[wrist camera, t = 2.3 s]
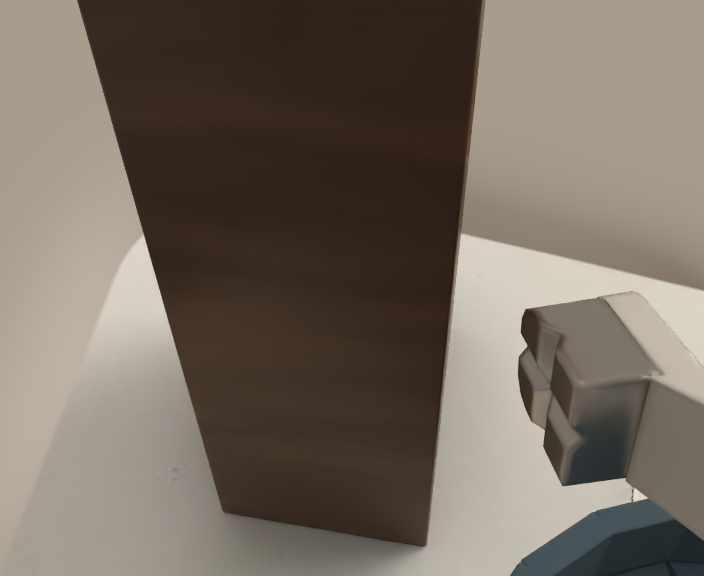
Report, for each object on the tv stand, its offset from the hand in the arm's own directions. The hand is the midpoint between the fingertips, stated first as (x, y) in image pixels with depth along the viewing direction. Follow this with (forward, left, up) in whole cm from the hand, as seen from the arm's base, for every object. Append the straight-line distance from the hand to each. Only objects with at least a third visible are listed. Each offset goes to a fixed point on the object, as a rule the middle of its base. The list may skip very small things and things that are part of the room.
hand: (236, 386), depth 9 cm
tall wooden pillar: (-7, +10, -16) cm, 21 cm away
